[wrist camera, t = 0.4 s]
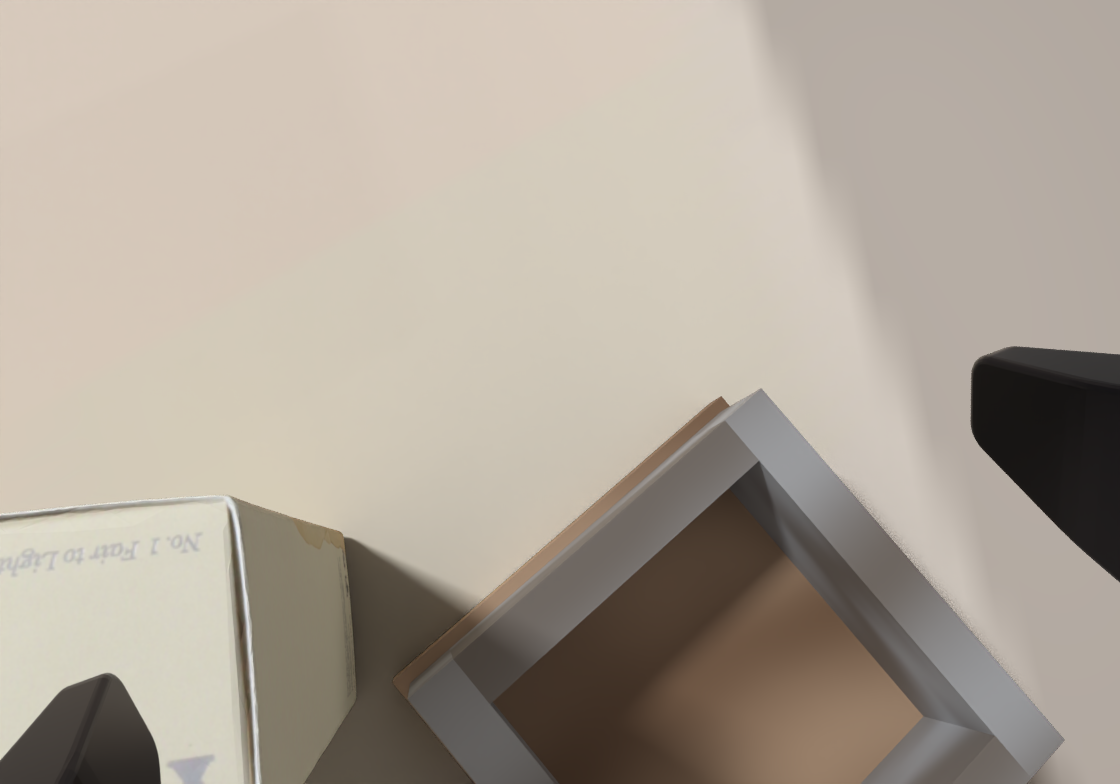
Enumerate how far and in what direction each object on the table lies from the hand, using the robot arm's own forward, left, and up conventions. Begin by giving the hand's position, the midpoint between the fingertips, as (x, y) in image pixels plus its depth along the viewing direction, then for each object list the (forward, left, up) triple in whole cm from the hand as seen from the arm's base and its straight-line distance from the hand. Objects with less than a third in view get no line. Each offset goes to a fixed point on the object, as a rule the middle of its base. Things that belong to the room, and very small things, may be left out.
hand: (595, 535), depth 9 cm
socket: (-6, -2, -15) cm, 16 cm away
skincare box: (+3, +6, -15) cm, 17 cm away
